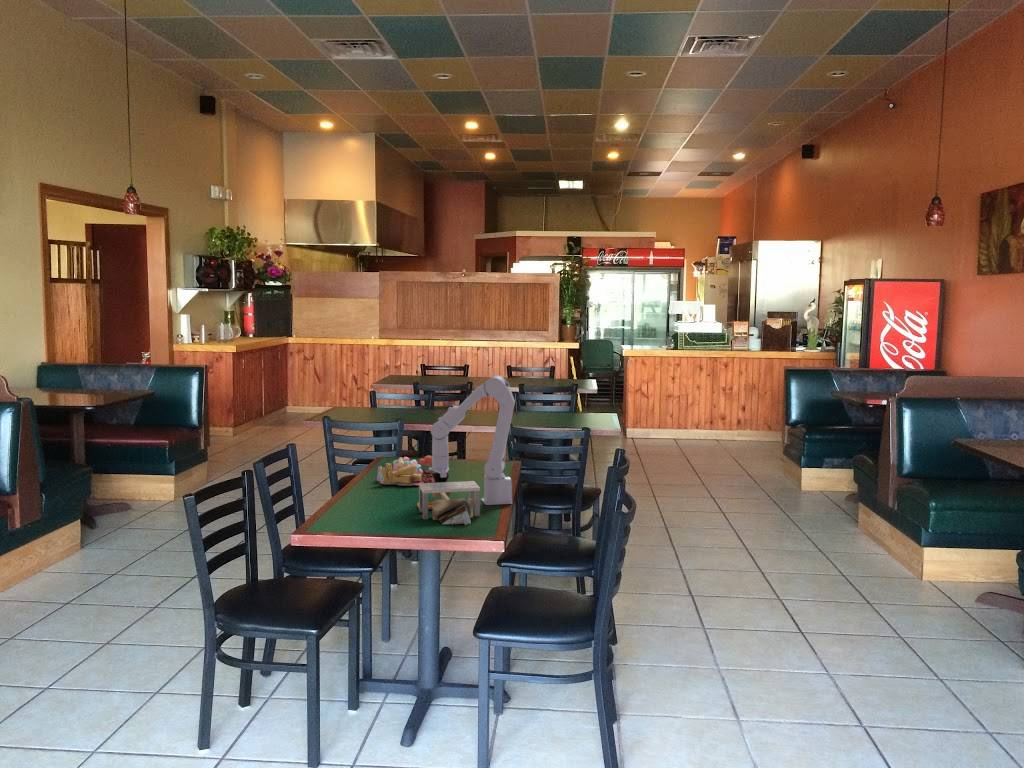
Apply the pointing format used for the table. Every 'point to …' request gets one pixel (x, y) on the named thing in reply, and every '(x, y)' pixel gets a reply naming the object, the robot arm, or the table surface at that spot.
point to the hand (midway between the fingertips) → (440, 493)
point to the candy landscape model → (406, 472)
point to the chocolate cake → (455, 514)
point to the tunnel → (448, 487)
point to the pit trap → (430, 505)
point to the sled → (447, 502)
